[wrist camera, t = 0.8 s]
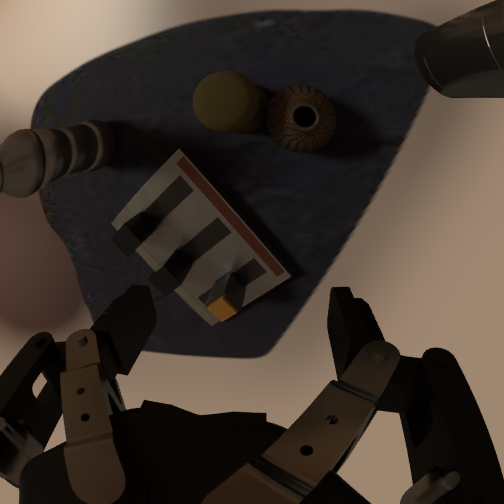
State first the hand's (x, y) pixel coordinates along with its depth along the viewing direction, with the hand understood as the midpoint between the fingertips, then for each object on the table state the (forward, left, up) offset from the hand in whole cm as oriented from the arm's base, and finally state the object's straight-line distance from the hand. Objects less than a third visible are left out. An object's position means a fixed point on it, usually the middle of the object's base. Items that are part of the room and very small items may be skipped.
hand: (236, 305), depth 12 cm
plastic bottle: (+12, -19, -22) cm, 32 cm away
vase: (-8, -4, -23) cm, 24 cm away
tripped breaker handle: (+11, +7, -20) cm, 24 cm away
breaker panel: (+11, 0, -22) cm, 25 cm away
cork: (-4, -9, -22) cm, 24 cm away
